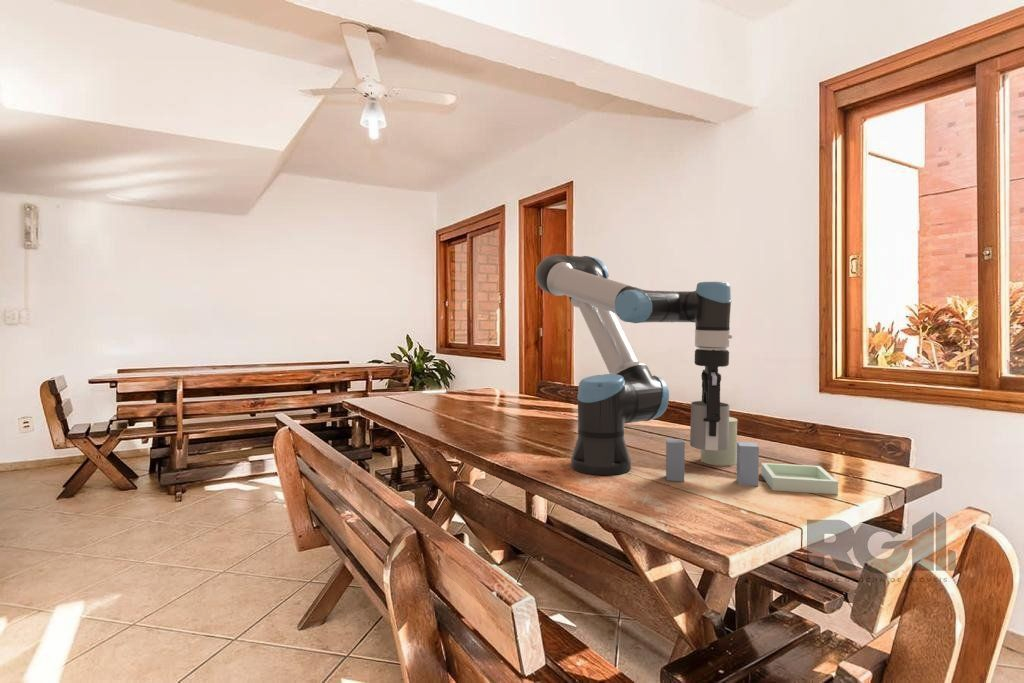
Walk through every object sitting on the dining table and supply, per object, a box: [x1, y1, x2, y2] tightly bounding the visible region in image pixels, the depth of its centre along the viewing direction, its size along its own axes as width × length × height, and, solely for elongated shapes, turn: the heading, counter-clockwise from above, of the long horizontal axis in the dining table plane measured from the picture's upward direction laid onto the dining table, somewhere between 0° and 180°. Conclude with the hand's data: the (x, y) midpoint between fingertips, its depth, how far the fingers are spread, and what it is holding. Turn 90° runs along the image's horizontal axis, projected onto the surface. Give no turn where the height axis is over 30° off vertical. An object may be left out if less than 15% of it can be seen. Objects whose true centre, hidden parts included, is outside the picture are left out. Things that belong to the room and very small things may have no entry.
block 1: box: [665, 438, 686, 482], centre depth 131 cm, size 4×4×9 cm
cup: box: [689, 400, 730, 451], centre depth 129 cm, size 8×8×10 cm
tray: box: [760, 462, 839, 495], centre depth 127 cm, size 13×13×3 cm
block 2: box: [736, 441, 760, 487], centre depth 128 cm, size 4×4×9 cm
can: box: [700, 416, 738, 467], centre depth 147 cm, size 9×9×12 cm
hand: (709, 444), depth 130 cm, fingers closed on cup, 8 cm apart
